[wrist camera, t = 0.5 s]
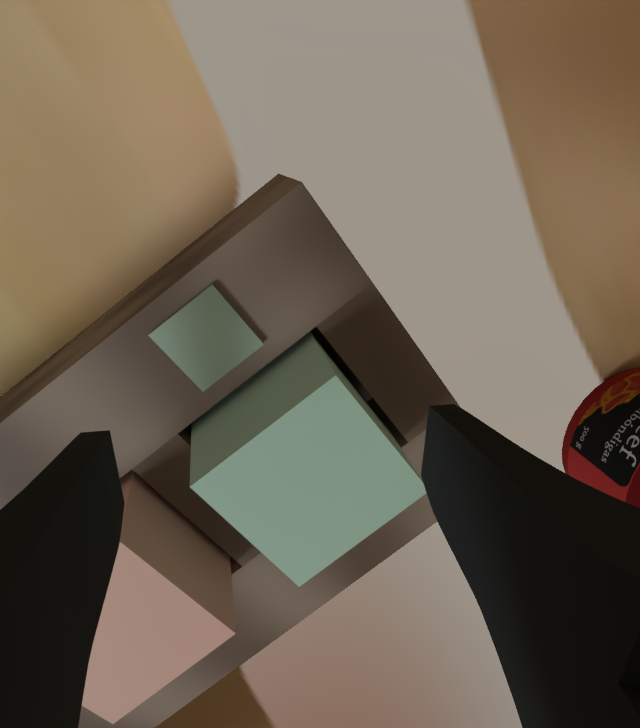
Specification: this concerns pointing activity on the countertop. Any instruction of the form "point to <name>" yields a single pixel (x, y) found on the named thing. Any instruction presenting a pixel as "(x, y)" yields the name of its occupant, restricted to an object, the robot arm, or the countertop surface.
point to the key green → (300, 462)
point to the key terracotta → (156, 604)
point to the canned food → (607, 438)
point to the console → (214, 382)
